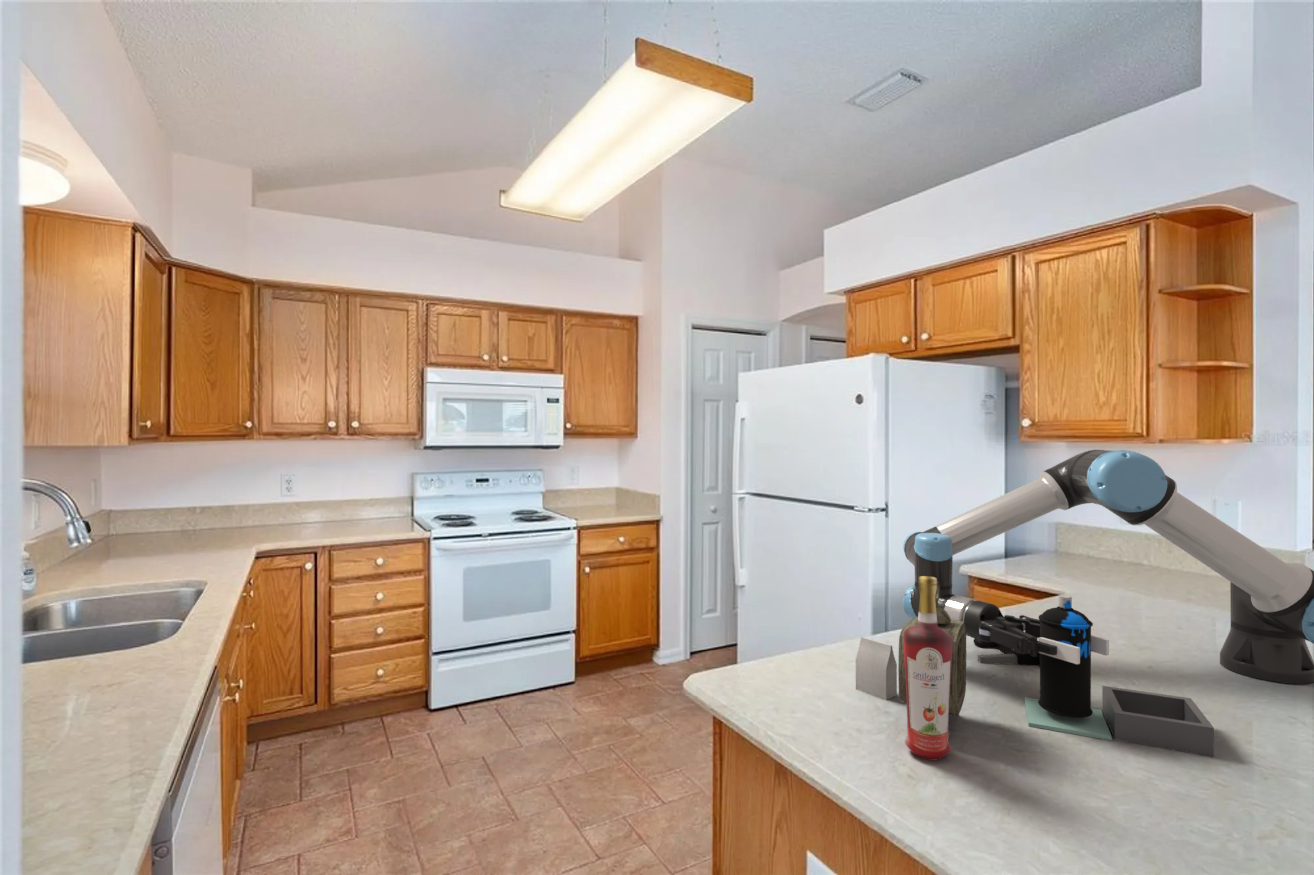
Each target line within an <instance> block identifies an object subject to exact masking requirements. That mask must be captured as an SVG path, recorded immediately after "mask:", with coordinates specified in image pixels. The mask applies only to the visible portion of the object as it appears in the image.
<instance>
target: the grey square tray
mask: <svg viewBox="0 0 1314 875" xmlns="http://www.w3.org/2000/svg"><path fill="white" fill-rule="evenodd" d="M1101 687H1102V688H1101V689H1102V692H1101V693H1102V698H1101V699H1102V700H1101V701H1102V703H1101V704H1102V707H1101V708H1102V710H1101V711H1102V712H1103V713H1102V714H1104V715H1103V716H1104V718H1105V719H1106V720H1105V721H1107V722H1106V723H1107V724H1108V728H1110V732H1111V734H1112V737H1113V739H1114V740H1116V741H1120V742H1126V743H1131V744H1137V745H1143V746H1144V745H1145V746H1151V747H1155V748H1161V749H1168V750H1172V749H1174V750H1173V751H1178V752H1184V753H1185V752H1186V753H1191V754H1196V753H1197V754H1196V755H1200V756H1201V755H1202V756H1208V757H1213V758H1214V757H1215V727H1214V726H1213V724H1212V723H1211V722H1210V721H1209V720H1208V718H1207V717H1206V716H1205V715H1204V713H1203V712H1202V711H1201V709H1199V707H1198V705H1196V703H1195V701H1193V699H1192V698H1191V697H1185V696H1177V695H1171V694H1163V693H1158V692H1157V693H1156V692H1149V691H1141V690H1138V689H1137V690H1135V689H1130V688H1129V689H1128V688H1123V687H1113V686H1109V685H1108V686H1107V685H1102V686H1101Z"/></svg>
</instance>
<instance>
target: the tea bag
mask: <svg viewBox="0 0 1314 875" xmlns="http://www.w3.org/2000/svg"><path fill="white" fill-rule="evenodd" d="M859 641H860V642H859V647H858V649H857V652H856V657H855V690H857V691H860V692H863V693H866V694H868V695H871V696H874V697H876V698H879V699H883V700H885V701H887V700H889V699H891V698H894V697H896V696H897V695H898V693H897V691H898V685H897V684H898V683H897V682H898V676H897V674H898V667H897V666H898V665H897V664H898V663H897V662H896V661H897V660H896V657H895V654H894V650H893V645H891V644H888V643H883V642H880V641H877V640H873V639H870V638H866V637H863V636H862V637H860V640H859ZM893 696H894V697H893Z"/></svg>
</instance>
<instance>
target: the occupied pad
mask: <svg viewBox="0 0 1314 875" xmlns="http://www.w3.org/2000/svg"><path fill="white" fill-rule="evenodd" d="M1038 701H1039V699H1038V698H1032V697H1031V698H1029V697H1024V704H1025V712H1026V718H1027V725H1028V727H1032V728H1037V729H1038V728H1039V729H1043V730H1049V731H1055V732H1060V733H1067V734H1073V735H1079V736H1084V737H1090V738H1095V739H1096V738H1097V739H1101V740H1107V741H1112V740H1113V738H1112V737H1113V735H1111V734H1112V733H1111V731H1110V730H1109V726H1108V725H1107V724H1108V723H1107V722H1106V720H1105V716H1104V715H1103V713H1102V710H1101V709H1100V708H1094V707H1091V709H1092V711H1093V713H1092V715H1091V716H1089V717H1085V718H1073V717H1066V716H1061V715H1057V714H1054V713H1051V712H1049V711H1047V710H1045V709H1043V708H1042V707H1041V706H1040V705H1039V703H1038Z"/></svg>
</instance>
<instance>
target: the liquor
mask: <svg viewBox="0 0 1314 875" xmlns="http://www.w3.org/2000/svg"><path fill="white" fill-rule="evenodd" d="M936 590H937V578H935V577H930V576H920V577H919V593H920V603H919V614H918V625H914V626H911V627H909V628H908V629H907V630H905V631H904V632H903V641H904V665H905V680H906V698H907V704H906V718H907V719H906V720H907V721H906V722H907V723H906V724H907V726H906V727H907V736H906V737H905V739H904V744H905V746H906V747H907V748H908V749H909V750H910V751H911V752H912V753H913V754H914V756H916V757H918V758H921V759H924V760H928V761H937V760H940V759H942V758H944V757H945V756H947V755H948V754H949V753H951V751H952V747H951V745H950V743H949V738H948V730H949V722H950V721H949V720H950V717H949V716H950V715H949V698H950V683H951V667H952V644H953V637H952V636H951V635H950V634H949V633H948V632H947V631H945V630H944V629H942V628H939V627H938V623H937V613H936V602H935V595H936Z"/></svg>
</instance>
